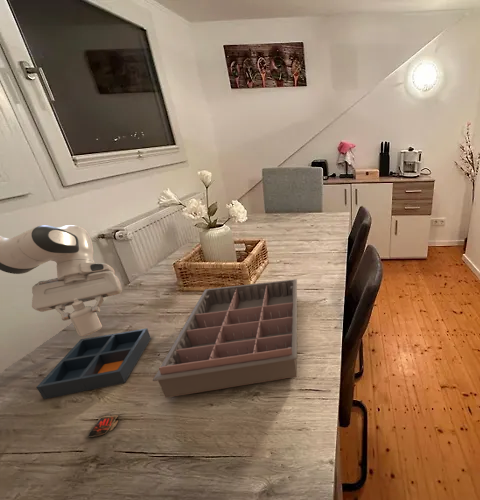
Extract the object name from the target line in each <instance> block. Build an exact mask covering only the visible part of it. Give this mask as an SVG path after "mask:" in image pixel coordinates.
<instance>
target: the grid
mask: <svg viewBox="0 0 480 500" xmlns="http://www.w3.org/2000/svg"><path fill="white" fill-rule="evenodd" d="M151 339H152V336H151V334H150V332H149V329H148V328H146V327H145V328H141V329H135V330H128V331H122V332H117V333H111V334H104V335H99V336H91V337H87V338H81V339H80V340H79V341H77V343H76V344H75V345H74V346H73V347H72V348H71V349H70V350H69V351H68V353H66V355H65V356H63V358H62V359H61V360H60V361H59V362H58V363H57V364H56V365H55V366H54V367H53V368H52V370H51V371H50V372H49V373H48V374H47V375H46V376H45V377H44V378H43V379H42V381H41V382H39V384H38V385H37V386H36V390H37V391H38V393H39V394H40V396H41V397H42V399H43V400H47V399H52V398H57V397H61V396H67V395H72V394H77V393H82V392H87V391H91V390H97V389H102V388H106V387H111V386H116V385H122V384H125V383H126V382H127V380H128V379H129V377H130V376H131V374H132V373H133V370H134V369H135V366H136V365H137V363H138V361H139V360H140V358H141V356H142V355H143V353H144V351H145V350H146V348H147V346H148V345H149V343H150V341H151Z"/></svg>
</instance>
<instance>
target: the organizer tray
mask: <svg viewBox="0 0 480 500" xmlns="http://www.w3.org/2000/svg"><path fill="white" fill-rule="evenodd" d="M297 377H298V279H297V278H294V279H285V280H276V281H275V280H274V281H267V282H258V283H250V284H249V283H248V284H241V285H240V284H239V285H230V286H222V287H214V288H205V289H204V290H203V292H202V294H201V295H200V298H199V299H198V301H197V303H196V304H195V306H194V308H193V310H192V311H191V313H190V315H189V316H188V318H187V320H186V321H185V324H184V325H183V327H182V328H181V330H180V332H179V334H178V336H177V337H176V339H175V340H174V342H173V344H172V346H171V347H170V349H169V351H168V353H167V354H166V355H165V358H164V360H163V361H162V363H161V365H160V366H159V367H158V370H157V371H156V373H155V374H154V377H153V378H152V382H158V383H159V387H160V388H161V390H162V393H163V396H164V398H165V399H166V398H167V399H168V398H172V397H179V396H186V395H191V394H197V393H203V392H211V391H216V390H221V391H223V390H224V389H228V388H234V387H241V386H247V385H252V384H253V385H255V384H259V383H266V382H272V381H277V380H283V379H285V380H286V379H291V378H297ZM222 389H223V390H222Z"/></svg>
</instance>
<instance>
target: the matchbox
mask: <svg viewBox="0 0 480 500" xmlns="http://www.w3.org/2000/svg"><path fill="white" fill-rule="evenodd" d="M117 418H118V414H117V415H109V414H108V415H103V416H101V417H99V418H98V420H97V421H96V422H95V424H94V425H93V427H92V428H91V429H90V431H89V433H88V436H87V437H88V438H93V437H99V436H103V435H106V433H107V432H110V431H113V430H114V429H115V428H116V426H117V424H118V423H119V420H116V419H117Z"/></svg>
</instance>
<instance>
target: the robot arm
mask: <svg viewBox="0 0 480 500" xmlns="http://www.w3.org/2000/svg"><path fill="white" fill-rule="evenodd" d="M94 253H95V252H94V245H93V241H92V238H91V235H90V233H89V232H88V231H87V229H86V228H83V227H82V226H79V225H74V224H73V225H72V224H68V225H67V224H66V225H62V226H59V227H57V226H52V225H47V224H46V225H45V224H44V225H37V226H35V227H33V228H30V229H28V230H26V231H24V232H22V233H20V234H18V235H16V236H14V237H11V238H8V237H5V236H3V235H0V271H1V272H4V273H8V274H13V275H23V274H26V273H29V272H31V271H33V270H34V269H36V268H37V267H39V266H41V265H43V264H46V263H48V262H50V261H51V262H55V263H56V275H57V277H55V278H51V279H47V280H40V281H38V282H37V283H35V284H34V285H32V286H31V293H32V298H31V308H32V309H33V310H35V311H38V312H41V313H43V312H48V311H52V310H55V311H57V312H58V313H59V315H61V317H60V318H61V320H62V321H68V320H71V319H70V317H69V315H70V314H71V313H70V312H65V311H66V307H69V306H72V304H73V303H74V299H75V298H77V299H78V300H79V301H83V303H86V302H91V301H96V302H95V304H94V305H93V306H91V308H92V312H93V313H96V314H97V313H100V312H101V306H102V304H103V302H104V300H105V299H104V298H108V297H112V296H117V295H119V294H121V293H122V291H123V288H122V284H121V282H120V281H121V280H120V278H119V277H118V276H117V275H116V271H115V269H114V268H113V267H112V266H111V265H110V264H108V263H105V262H104V263H102V262H100V263H99V262H95V260H94Z"/></svg>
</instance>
